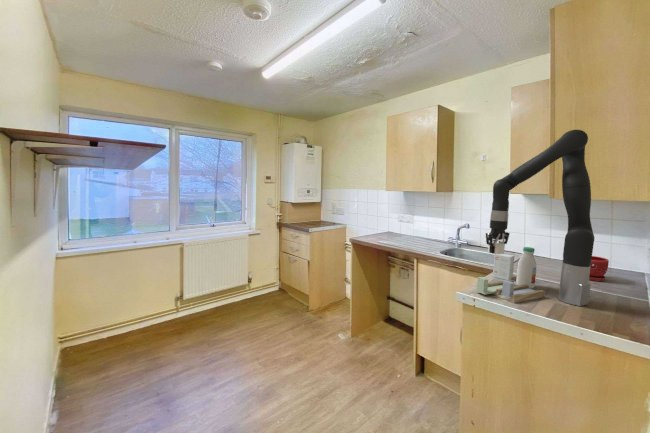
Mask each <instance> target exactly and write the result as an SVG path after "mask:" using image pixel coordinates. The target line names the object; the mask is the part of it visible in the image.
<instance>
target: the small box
mask: <svg viewBox="0 0 650 433" xmlns="http://www.w3.org/2000/svg"><path fill="white" fill-rule="evenodd" d="M493 255H494V256H493V257H494V258H493V268H492V278H497V279H500V280H503V281H506V280H513V278H514V267H515V257H516V256H515V255H514V254H508V253H504V254H493Z"/></svg>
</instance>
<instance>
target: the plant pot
mask: <svg viewBox="0 0 650 433" xmlns="http://www.w3.org/2000/svg"><path fill="white" fill-rule="evenodd" d="M609 262H610V261H609V259H608V258H605V257H601V256H596V255H592V260H591V267H590V274H589V281H593V282H595V281H596V282H603V281H605V279H607V278H606V276H605V275H606V273H607V271H608V269H609Z"/></svg>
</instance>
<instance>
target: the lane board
mask: <svg viewBox="0 0 650 433" xmlns="http://www.w3.org/2000/svg"><path fill="white" fill-rule="evenodd" d="M503 281H504V280H500V281H493V282H488V287H492V286H498V285H503ZM507 281H510V282H513V283H514V291H515V290H521V289H527V288H529V285H520V286H518V285H516V284H515V280H513V279H510V280H507ZM500 293H502V288H501V289H496V293H491V295H494V296H496V297H498V298H501V299H503V300H505V301H508V302H510V303H512V304H516V303H521V302H527V301H531V300H537V299H542V298H543V299H544V298H545V294H546V290H542V289H540V290H535V291H533V292H527V293H522V294H516V295H511V299H510V298H507V297H505V296H502V295H500Z"/></svg>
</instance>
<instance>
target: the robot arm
mask: <svg viewBox="0 0 650 433" xmlns="http://www.w3.org/2000/svg"><path fill="white" fill-rule="evenodd" d="M588 142H589V136H588V134H587V133H586V131H584V130H582V129H571V130H568V131H566V132H565V133H563V134H562V135H561V137H559V139H557V140H556V141H555V142H554V143H553V144H551V145H550V146H549V147H547V148H546V149H545V150H543V151H542V152H540V153H539V154H537V155H536V156H534V157H532V158H531V159H528V161H526V162H524V163H523V164H520V166H518V167H516V168H515V169H513V170H511V172H510V173H509V174H506V175H505V176H503V177H502V178H500V179H497V180H496V181H495V182H494V183H493V186H492V206H491V212H490V219H489V220H490V221H489V228H490V232H489V233H488V232H486V233H485V240H486V241H485V242H486V245H490V249H489V252H490V253H489V252H488V253H489V254H493V255H495V254H494V252H495V244H496V242H498V243H503V244H505V245H508V240H509V238H510V232H507V231H506V230H507V229H508V224H509V206H510V201H509V197H510V192H511V190H513V189H514V188H516V187H517V186H518V185H520V184H522V183H523V182H525V181H527V180H529V179H530V178H532V177H534V176H536V175H537V174H538V173H540V172H541V171H543V170H544V169H545V168H546V167H548V166H550V165H551V164H552V163H554V162H556V161H557V160H560V159H561V160H562V174H561V179H562V180H561V187H562V189H561V191H562V200H563V203H564V207H565V211H566V215H567V232H566V234H565V237H564V243H563V253H562V264H561V265H562V266H561V272H560V280H559V288H558V289H559V290H558V300H559V301H561V302H563V303H566V304H569V305H574V306H577V307H581V306H586V305H589V300H590V293H591V285H592V284H591V283H590V282H589V281H590V280H589V274H590V267H591V260H592V256H593V250H594V243H595V234H594V231H593V228H592V222H591V206H592V189H591V187H592V186H591V180H590V176H589V172H588V170H587V167H586V161H585V160H586V158H585V155H586V146H587V144H588ZM492 242H493V243H492Z"/></svg>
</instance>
